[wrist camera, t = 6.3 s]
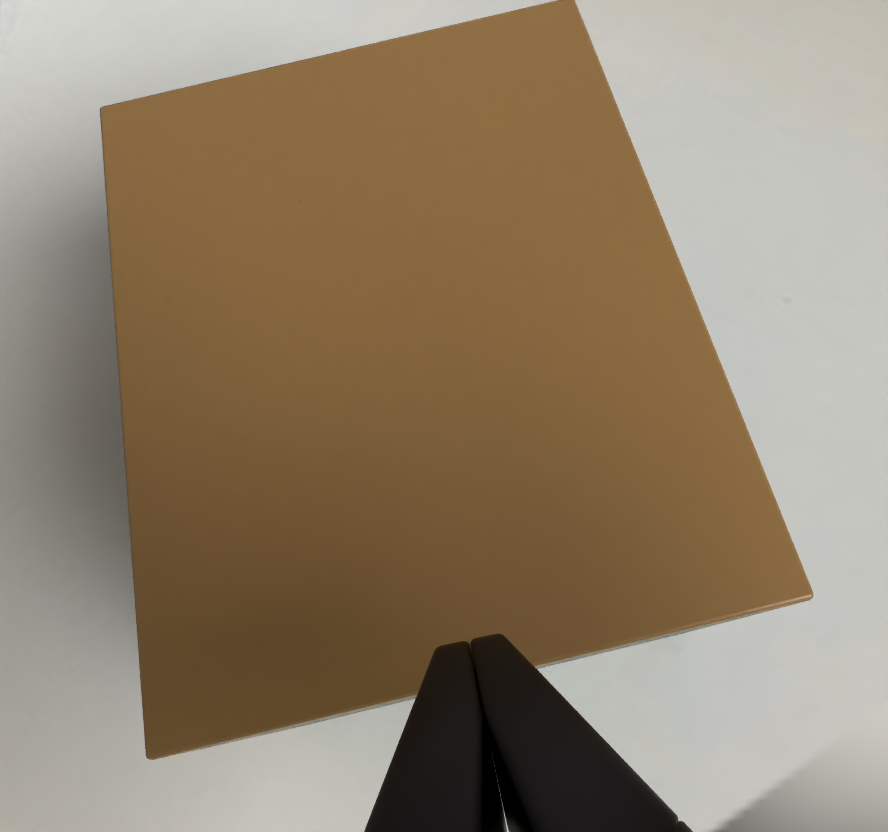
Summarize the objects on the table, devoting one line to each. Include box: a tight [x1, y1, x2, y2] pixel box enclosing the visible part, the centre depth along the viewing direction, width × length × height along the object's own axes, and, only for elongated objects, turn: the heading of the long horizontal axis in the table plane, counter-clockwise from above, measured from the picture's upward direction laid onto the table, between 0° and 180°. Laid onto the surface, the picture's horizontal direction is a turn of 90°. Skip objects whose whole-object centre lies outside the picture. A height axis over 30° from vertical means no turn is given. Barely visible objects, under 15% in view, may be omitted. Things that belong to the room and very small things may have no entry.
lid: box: [100, 0, 813, 760], centre depth 15 cm, size 14×12×1 cm
